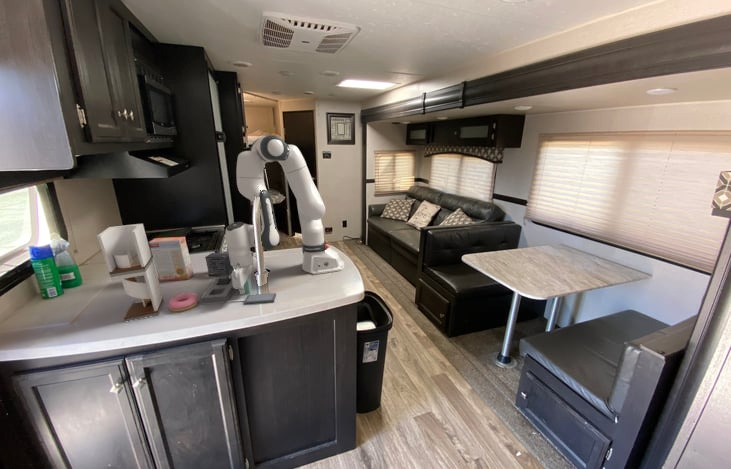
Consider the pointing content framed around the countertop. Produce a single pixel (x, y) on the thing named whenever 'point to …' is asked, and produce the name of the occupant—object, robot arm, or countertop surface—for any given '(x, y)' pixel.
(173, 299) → the doughnut
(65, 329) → the countertop surface
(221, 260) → the small box
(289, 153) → the robot arm
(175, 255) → the cracker box
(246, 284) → the block
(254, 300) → the spatula
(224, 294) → the gray block with holes
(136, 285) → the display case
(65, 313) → the countertop surface
